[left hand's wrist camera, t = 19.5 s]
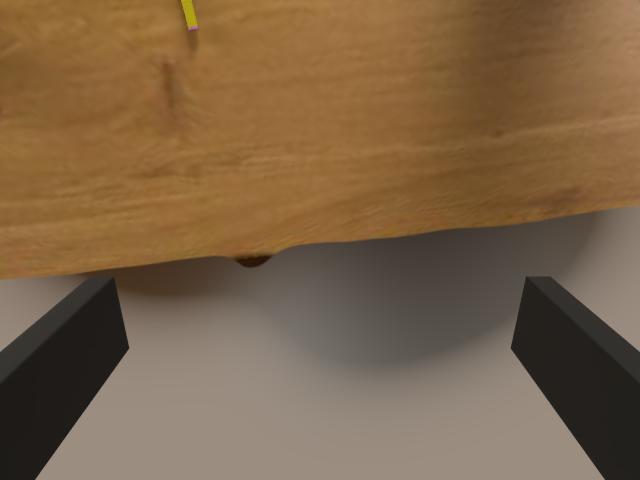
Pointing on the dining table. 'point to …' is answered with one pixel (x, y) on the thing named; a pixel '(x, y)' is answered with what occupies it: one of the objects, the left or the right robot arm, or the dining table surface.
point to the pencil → (190, 15)
